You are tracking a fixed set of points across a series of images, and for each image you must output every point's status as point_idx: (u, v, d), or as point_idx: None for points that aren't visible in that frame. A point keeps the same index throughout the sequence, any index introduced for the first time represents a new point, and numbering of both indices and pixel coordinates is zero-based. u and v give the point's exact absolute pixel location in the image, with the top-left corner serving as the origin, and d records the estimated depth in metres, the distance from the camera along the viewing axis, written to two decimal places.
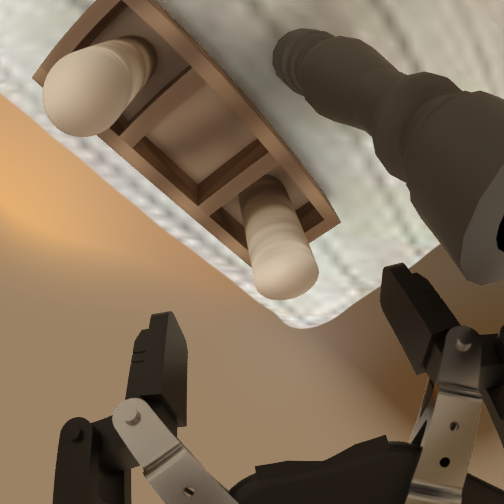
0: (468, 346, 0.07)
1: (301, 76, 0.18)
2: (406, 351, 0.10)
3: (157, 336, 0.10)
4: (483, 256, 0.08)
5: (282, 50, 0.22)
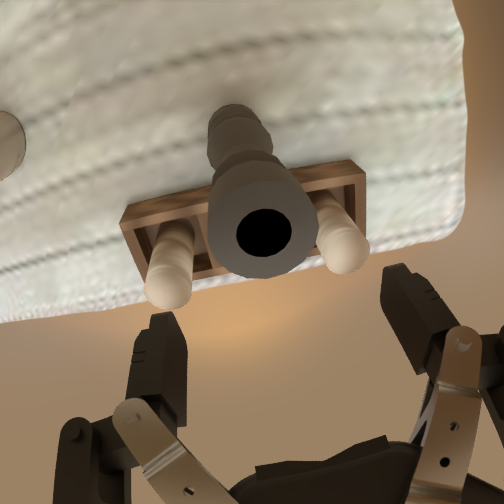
0: (468, 346, 0.07)
1: None
2: (406, 351, 0.10)
3: (157, 336, 0.10)
4: (274, 264, 0.17)
5: None
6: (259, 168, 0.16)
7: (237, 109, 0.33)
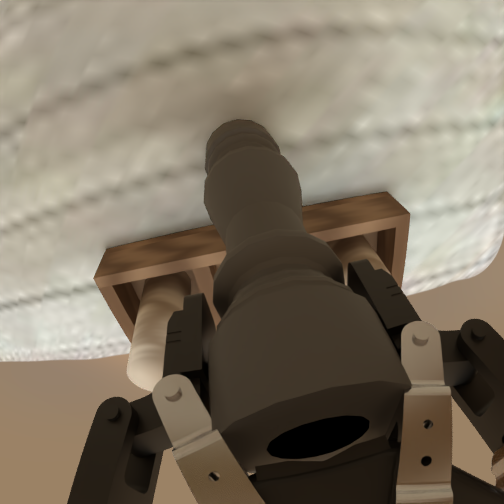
0: (424, 342, 0.08)
1: None
2: None
3: (192, 316, 0.11)
4: (327, 458, 0.08)
5: None
6: (318, 325, 0.07)
7: (246, 129, 0.24)
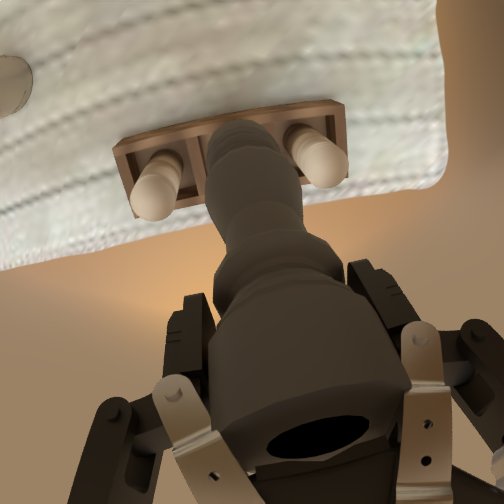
0: (424, 341, 0.08)
1: None
2: None
3: (192, 316, 0.11)
4: (327, 458, 0.08)
5: None
6: (318, 325, 0.07)
7: (247, 128, 0.24)
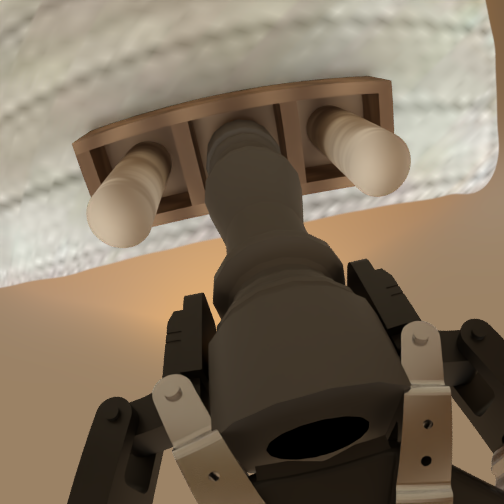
0: (424, 341, 0.08)
1: None
2: None
3: (192, 316, 0.11)
4: None
5: None
6: (318, 326, 0.07)
7: (247, 129, 0.24)
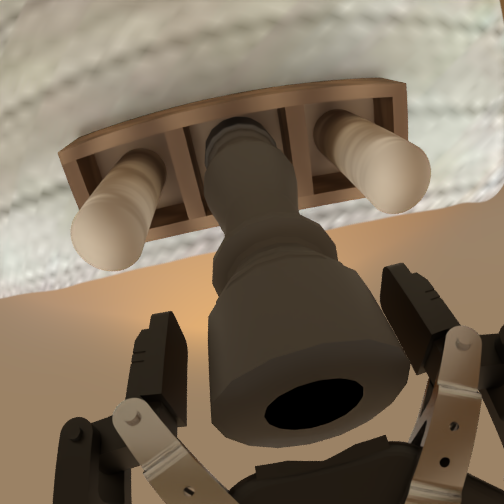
0: (468, 346, 0.07)
1: None
2: (406, 351, 0.10)
3: (157, 336, 0.10)
4: (324, 431, 0.09)
5: None
6: (311, 290, 0.08)
7: (244, 125, 0.24)
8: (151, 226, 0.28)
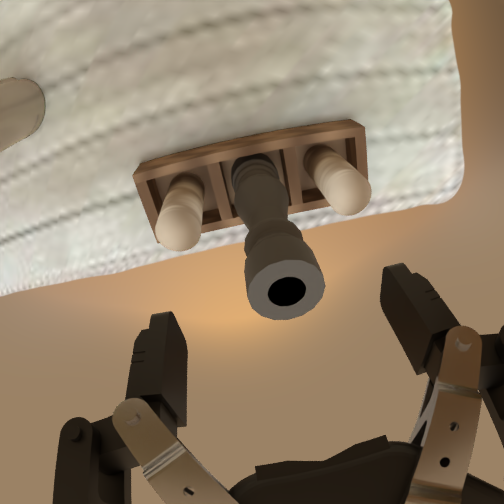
0: (468, 346, 0.07)
1: None
2: (406, 351, 0.10)
3: (157, 336, 0.10)
4: (293, 310, 0.24)
5: None
6: (283, 246, 0.23)
7: (257, 160, 0.40)
8: None
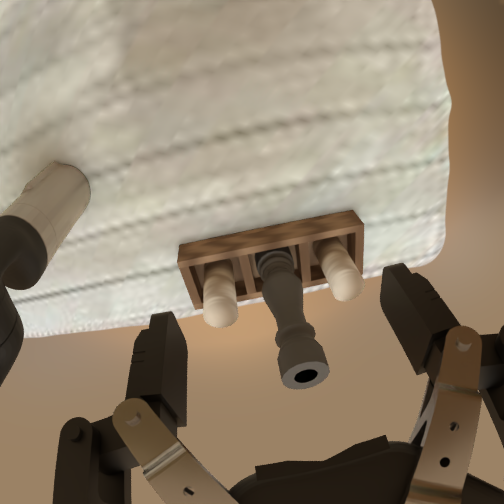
0: (468, 346, 0.07)
1: None
2: (406, 351, 0.10)
3: (157, 336, 0.10)
4: (309, 384, 0.36)
5: None
6: (305, 350, 0.35)
7: (278, 251, 0.52)
8: None
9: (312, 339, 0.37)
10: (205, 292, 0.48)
